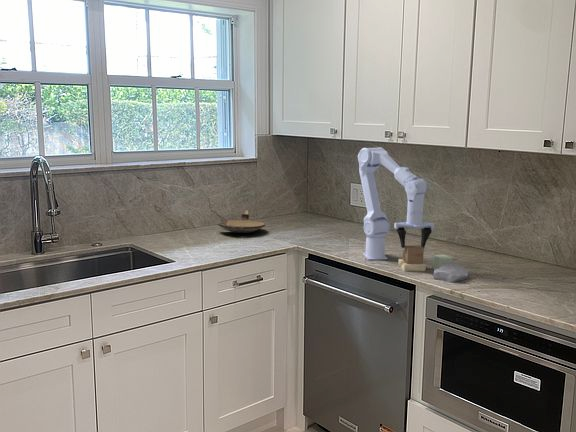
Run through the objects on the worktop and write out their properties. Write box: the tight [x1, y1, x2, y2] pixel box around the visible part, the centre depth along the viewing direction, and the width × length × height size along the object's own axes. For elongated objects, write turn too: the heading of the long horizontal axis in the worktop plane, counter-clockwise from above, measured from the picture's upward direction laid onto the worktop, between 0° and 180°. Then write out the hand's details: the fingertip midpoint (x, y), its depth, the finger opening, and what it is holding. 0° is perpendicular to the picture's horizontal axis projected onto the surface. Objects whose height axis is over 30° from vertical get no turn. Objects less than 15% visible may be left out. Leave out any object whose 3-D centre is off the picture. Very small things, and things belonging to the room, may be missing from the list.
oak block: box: [397, 258, 427, 272], centre depth 213 cm, size 8×8×3 cm
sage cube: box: [432, 254, 453, 270], centre depth 212 cm, size 5×5×5 cm
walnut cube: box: [402, 243, 425, 264], centre depth 212 cm, size 6×6×6 cm
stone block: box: [432, 262, 470, 283], centre depth 202 cm, size 12×5×10 cm
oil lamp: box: [217, 210, 266, 234], centre depth 273 cm, size 22×30×8 cm
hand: (412, 247), depth 212 cm, fingers open, 7 cm apart
